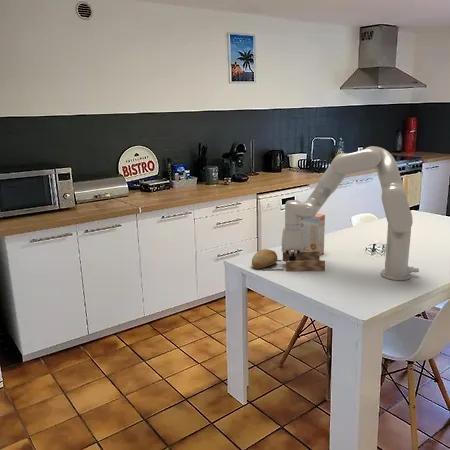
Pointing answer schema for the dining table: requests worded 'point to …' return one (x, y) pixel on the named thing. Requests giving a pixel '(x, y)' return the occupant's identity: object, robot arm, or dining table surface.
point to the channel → (304, 261)
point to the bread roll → (264, 258)
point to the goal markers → (272, 269)
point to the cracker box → (314, 233)
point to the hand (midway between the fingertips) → (292, 263)
